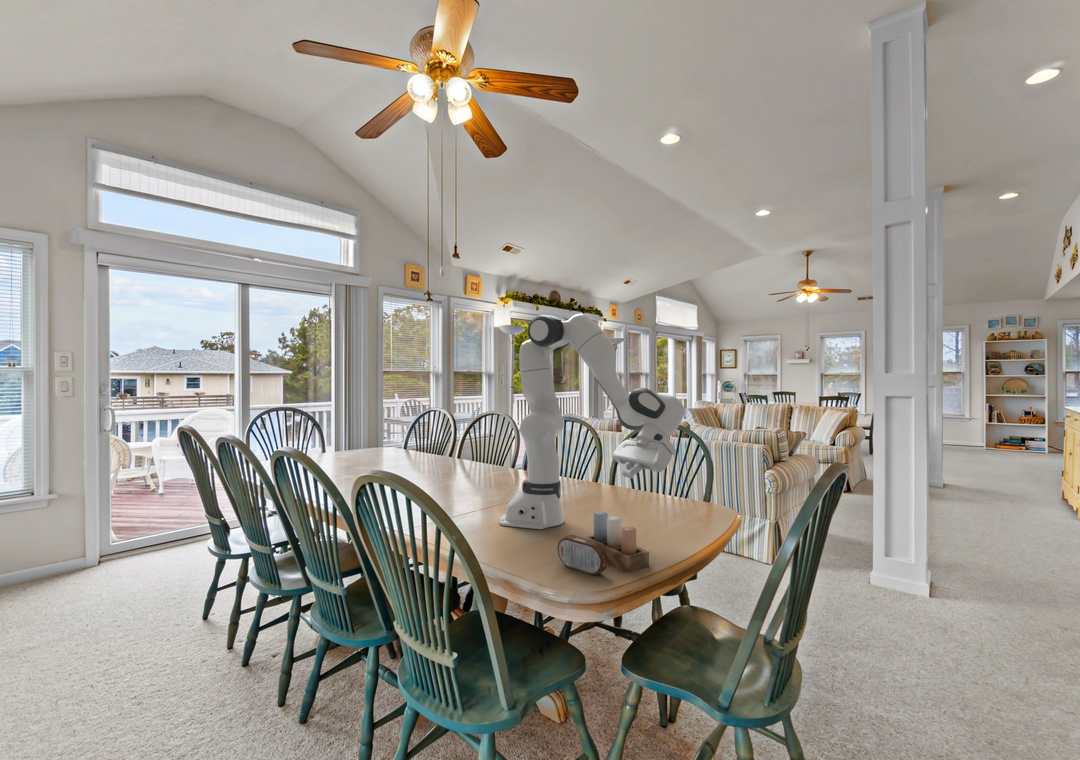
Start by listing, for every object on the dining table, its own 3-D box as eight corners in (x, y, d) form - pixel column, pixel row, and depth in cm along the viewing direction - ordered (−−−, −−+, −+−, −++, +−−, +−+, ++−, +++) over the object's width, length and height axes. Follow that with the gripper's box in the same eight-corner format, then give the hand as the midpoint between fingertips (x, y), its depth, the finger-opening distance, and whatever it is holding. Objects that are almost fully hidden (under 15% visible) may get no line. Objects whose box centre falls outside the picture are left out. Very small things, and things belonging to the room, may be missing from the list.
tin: (608, 576, 129) (608, 543, 129) (601, 579, 127) (601, 546, 127) (563, 561, 139) (562, 531, 139) (555, 565, 137) (555, 533, 137)
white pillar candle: (606, 549, 139) (606, 520, 139) (607, 544, 143) (607, 516, 143) (621, 549, 139) (621, 520, 139) (621, 545, 143) (621, 516, 143)
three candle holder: (649, 566, 135) (649, 551, 135) (626, 572, 131) (626, 557, 131) (604, 546, 151) (604, 532, 151) (582, 551, 147) (582, 537, 147)
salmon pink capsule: (621, 561, 134) (621, 531, 134) (621, 555, 138) (621, 526, 138) (636, 561, 134) (636, 531, 133) (636, 556, 138) (636, 527, 137)
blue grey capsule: (593, 543, 144) (593, 515, 144) (594, 538, 148) (594, 511, 148) (607, 543, 144) (607, 515, 144) (607, 539, 148) (607, 511, 148)
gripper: (622, 431, 164) (599, 464, 159) (669, 437, 146) (644, 475, 141) (633, 444, 166) (610, 477, 161) (680, 452, 149) (656, 489, 144)
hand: (626, 476), depth 151 cm, fingers closed
